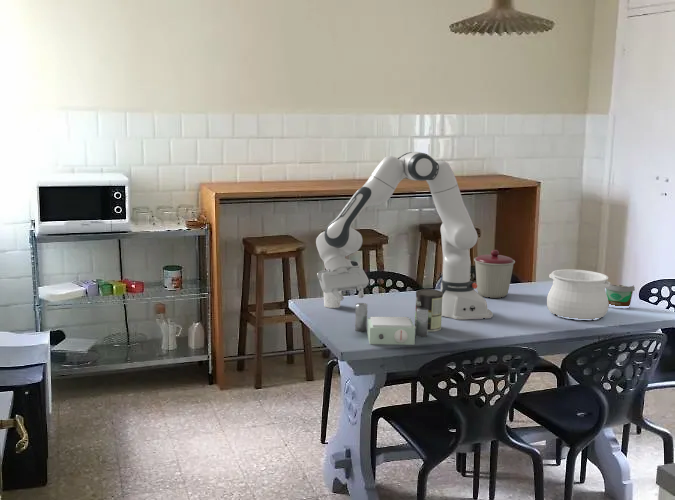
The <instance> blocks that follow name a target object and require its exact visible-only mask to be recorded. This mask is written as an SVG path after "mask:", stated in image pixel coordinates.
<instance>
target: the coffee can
mask: <svg viewBox="0 0 675 500" xmlns="http://www.w3.org/2000/svg"><path fill="white" fill-rule="evenodd" d="M442 299H443V292H441V290H437V289H432V288H431V289H430V288H429V289H428V288H425V289H424V288H423V289H418V290H416V291H415V310H416V309H417V308H427V309H428V328H427V333H429V332H430V333H432V332H433V333H434V332H438V331H441V329H442V317H443V316H442ZM414 314H415V316H414V327H415V329H416V311H415V312H414Z"/></svg>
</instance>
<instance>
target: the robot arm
mask: <svg viewBox="0 0 675 500" xmlns="http://www.w3.org/2000/svg"><path fill="white" fill-rule="evenodd" d="M403 179H408V180H411V181H421V182H423V181H426V184H427V185H428V188H429V191H430V194H431V196H432V200H433V203H434V204H433V205H434V206H435V209H436V211H437V214H438V215H439V217H440V220H441V222H442V223H441V225H440V235H441V236H440V237H441V250H442V260H443V261H442V265H443V266H442V279H441V280H440V281H441V283H440V291H441V292H443V299H442V317H446V318H450V319H454V320H459V321H460V320H461V321H462V320H480V319H481V320H482V319H483V318H485V319H492V318H493V316H494V313H493V312H492V311H491V310H490V309H488V303H487V300H486V299H485V297H484V296H481V295H480V294H479V293H478V291H477V287H478V286H477V282H474V281H472V280H471V266H472V263H471V257H470V251H469V249H472V248H473V247H474V246H475V245H476V244H477V242H478V236H479V235H478V233H477V230H476V228H475V226H474V224H473V221H472V219H471V217H470V214H469V211H468V209H467V207H466V205H465V202H464V200H463V197H462V194H461V191H460V188H459V185H458V180H457V178H456V176H455V173H454V172H453V169H452V167H451V166H450V164H449V163H448V162H446V161H445V160H437V161H436V160H435V159H434V158H433V157H432V156H430V155H429V154H427V153H426V152H425V153H424V152H420V151H413V152H412V151H411V152H407V153H406V152H405V154H402V155H400V156H399V157H396V156H393V155H387V156H385V157H383V159H382V160H381V161H380V162H379V163H378V164H377V165H376V166H375V168H374V169H373V171H372V173H371V174H370V176H369V177H368V179H367V180H366V181H365V183H364V184H363V185H362V186H361V187H360V188H359V189H357V191H355V192H354V193H353V195H352V196H351V198H350V199H349V200H348V201H347V203H346V205H345V206H344V207H343V209H342V210H341V211H340V212H339V214H338V215H337V216H336V217H335V218H334V219H333V220H332V221H330V222H329V223H328V224H327V226H326V227H325V230H324V231H322V232H321V233H320V234H318V236H317V237H316V238H315V244H316V245H315V246H316V248H317V251H318V255H319V257H320V259H321V260H322V262H323V265H324V269H325V270H323V269H322V270H319V271H318V272H317V273H316V276H317V279H318V280H319V285H320V288H321V290H322V292H323V294H324V293H330V292H332V293H333V295H334V296H336V297H337V298H338V300H339V301H341V302H342V301H343V300H344V298H345V297H344V295H343V294H341V295H340V294H339V293H338V291H342V292H344V291H345V292H346V291H350V290H357V291H358V294H357V297H358V298H359V299H363V298H364V297H365V294H364V292H363V291H364V289H365V288H366V287H367V286H368V285H369V282H370V280H369V278H368V276H367V274H366V272H365V270H364V269H363V268H362V267H361V263H360V262H359V261H357V260H356V261H355V260H352V259H349V258H348V259H347V258H346V257H348V256H350V255H353V254H354V253H357V252H358V251H359V250H360V249H361V248H362V246H363V243H364V240H363V235H362V234H361V233H360V231H358V230H356V229H354V228H353V227H352V225H353V224H354V222H355V221H356V219H357V218H358V217H359V215H360V214H361V213H362V211H363V210H364V209H365V208H367V207H369V206H370V207H371V206H379V205H383V204H385V203H387V202H388V201H389V200H390V198H391V197H392V195H393V194H394V192H395V190H396V189H397V187H398V185H399V183H401V181H403ZM491 317H492V318H491Z"/></svg>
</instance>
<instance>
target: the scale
mask: <svg viewBox="0 0 675 500" xmlns="http://www.w3.org/2000/svg"><path fill="white" fill-rule="evenodd" d="M415 329H416V328H415V324H414V323H413V320H412V318H409V317H408V316H370V317H367V331H366V334H367V340H368V343H369V345H398V346H399V345H402V346H404V345H407V346H408V345H409V346H410V345H413V346H414V345H416V344H415V343H416V341H415V340H416V339H415V337H416V336H415Z"/></svg>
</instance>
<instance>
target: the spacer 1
mask: <svg viewBox="0 0 675 500" xmlns="http://www.w3.org/2000/svg"><path fill="white" fill-rule="evenodd" d="M354 320H355V321H354V322H355V323H354V324H355V325H354V327H355V328H354V330H355V331H356V332H357V333H364V332H367V320H368V303H365V302H357V303H355V319H354Z"/></svg>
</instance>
